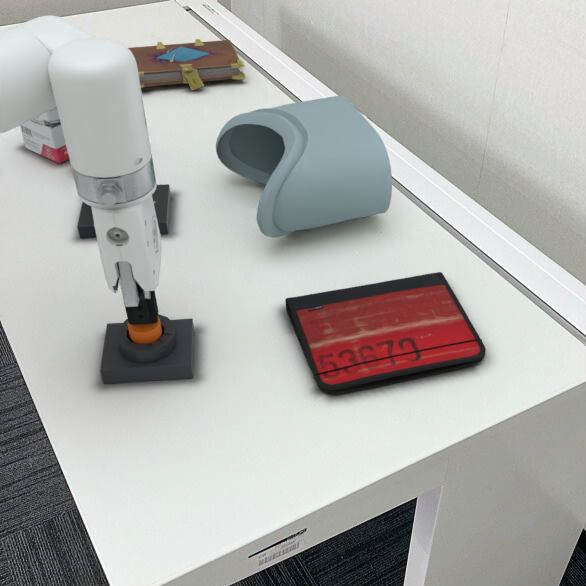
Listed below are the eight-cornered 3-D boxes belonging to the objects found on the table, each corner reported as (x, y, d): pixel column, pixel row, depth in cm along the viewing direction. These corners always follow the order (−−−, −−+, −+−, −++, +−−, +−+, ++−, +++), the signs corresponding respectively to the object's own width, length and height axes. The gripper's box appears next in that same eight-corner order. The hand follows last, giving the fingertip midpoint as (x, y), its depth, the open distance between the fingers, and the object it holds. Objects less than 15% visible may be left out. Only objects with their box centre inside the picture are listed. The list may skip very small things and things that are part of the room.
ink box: (84, 152, 127) (68, 81, 119) (59, 165, 124) (41, 93, 116) (48, 136, 130) (31, 66, 122) (23, 148, 127) (4, 77, 119)
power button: (128, 345, 89) (126, 334, 88) (131, 324, 92) (128, 313, 90) (161, 343, 89) (159, 332, 88) (162, 322, 92) (160, 311, 91)
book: (104, 67, 152) (99, 40, 149) (233, 56, 157) (231, 30, 154) (108, 100, 140) (103, 72, 137) (247, 87, 145) (245, 60, 142)
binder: (284, 295, 98) (441, 268, 103) (285, 309, 100) (439, 282, 105) (320, 389, 87) (493, 353, 93) (320, 403, 89) (490, 367, 94)
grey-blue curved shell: (389, 231, 113) (395, 150, 104) (262, 260, 107) (257, 176, 99) (332, 158, 128) (333, 81, 119) (217, 179, 122) (209, 101, 113)
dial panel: (80, 238, 110) (76, 225, 108) (88, 199, 117) (85, 186, 116) (168, 234, 111) (166, 221, 110) (170, 195, 118) (169, 183, 117)
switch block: (103, 384, 89) (96, 358, 87) (110, 337, 95) (104, 311, 92) (193, 378, 91) (189, 352, 88) (194, 331, 96) (190, 306, 94)
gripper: (150, 216, 71) (175, 363, 84) (158, 136, 82) (180, 277, 95) (64, 220, 71) (103, 368, 83) (84, 139, 81) (115, 280, 94)
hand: (144, 319), depth 89 cm, fingers closed
